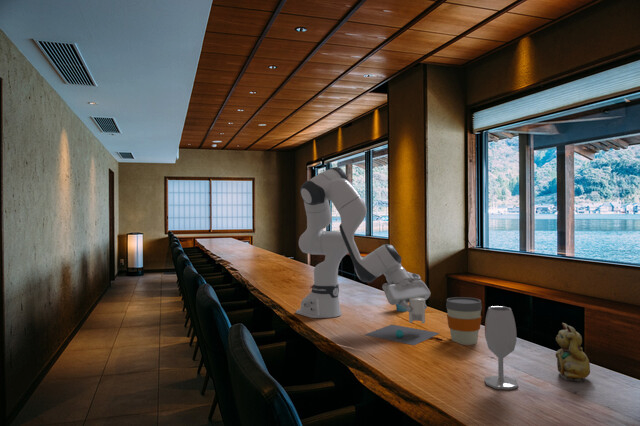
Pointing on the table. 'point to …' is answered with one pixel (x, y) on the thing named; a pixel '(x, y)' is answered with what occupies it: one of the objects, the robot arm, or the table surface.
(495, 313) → the wineglass
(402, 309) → the cup
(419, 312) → the cream tumbler
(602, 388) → the table surface
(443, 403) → the table surface
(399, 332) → the teal marble
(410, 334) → the charcoal mat
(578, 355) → the decorative figurine
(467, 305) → the reusable coffee cup
